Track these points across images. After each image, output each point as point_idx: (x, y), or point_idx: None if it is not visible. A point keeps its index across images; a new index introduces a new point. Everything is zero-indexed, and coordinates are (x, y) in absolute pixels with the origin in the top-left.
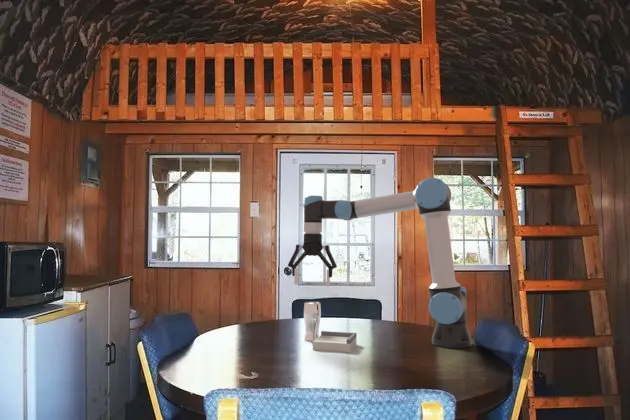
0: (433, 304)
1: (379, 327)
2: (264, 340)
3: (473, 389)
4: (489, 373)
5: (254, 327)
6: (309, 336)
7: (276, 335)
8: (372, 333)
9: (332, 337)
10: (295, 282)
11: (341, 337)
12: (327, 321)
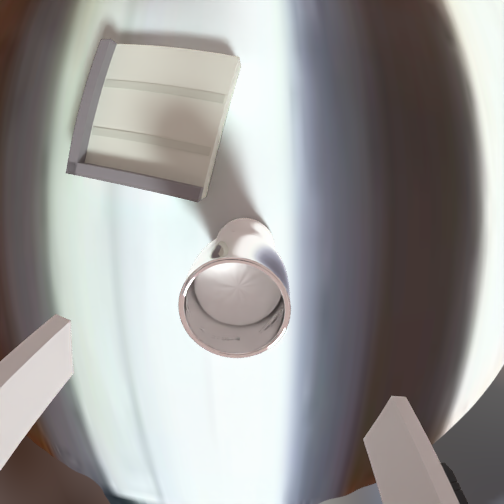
0: None
1: (67, 418)
2: (418, 232)
3: None
4: None
5: None
6: (255, 225)
7: (375, 321)
8: None
9: (156, 140)
10: (402, 409)
11: (122, 150)
12: (209, 491)
